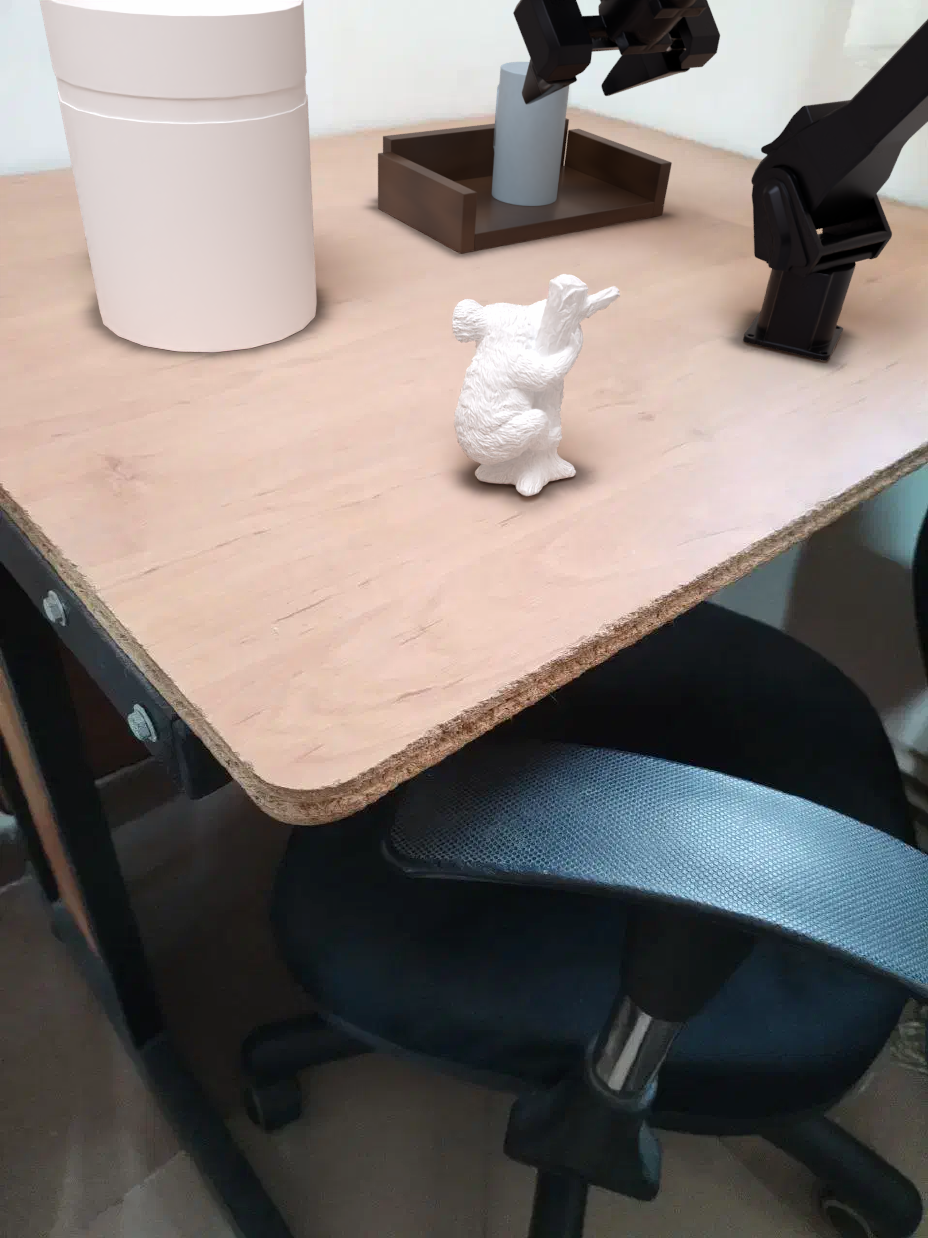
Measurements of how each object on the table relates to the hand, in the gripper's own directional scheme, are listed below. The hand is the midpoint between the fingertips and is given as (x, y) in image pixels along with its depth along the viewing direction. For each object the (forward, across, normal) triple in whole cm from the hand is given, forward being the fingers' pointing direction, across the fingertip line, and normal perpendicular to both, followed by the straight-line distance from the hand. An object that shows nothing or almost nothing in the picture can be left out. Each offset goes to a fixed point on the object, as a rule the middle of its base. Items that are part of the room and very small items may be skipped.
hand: (565, 94), depth 85 cm
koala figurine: (-17, +31, +33) cm, 48 cm away
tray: (+11, 0, +5) cm, 12 cm away
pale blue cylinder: (+10, 0, +4) cm, 11 cm away
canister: (+5, +36, +11) cm, 38 cm away
